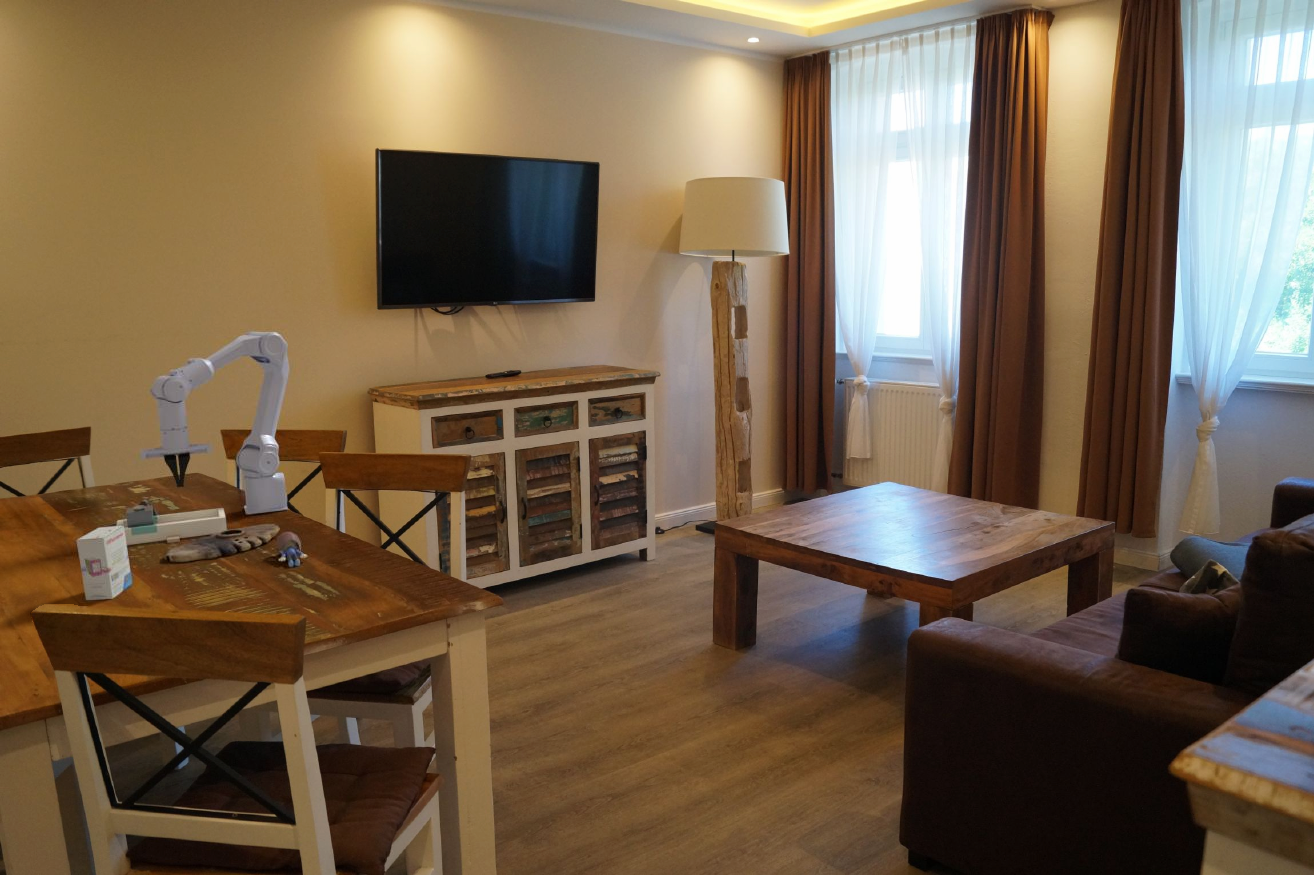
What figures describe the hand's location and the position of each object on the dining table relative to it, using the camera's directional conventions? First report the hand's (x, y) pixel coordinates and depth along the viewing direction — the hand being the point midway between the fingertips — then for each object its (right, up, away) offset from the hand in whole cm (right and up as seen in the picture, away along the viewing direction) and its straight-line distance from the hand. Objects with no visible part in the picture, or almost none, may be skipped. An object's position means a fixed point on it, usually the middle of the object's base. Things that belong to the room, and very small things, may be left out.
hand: (180, 486), depth 223 cm
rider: (-6, -9, -6) cm, 13 cm away
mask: (+17, -13, -14) cm, 25 cm away
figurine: (+35, -14, -24) cm, 44 cm away
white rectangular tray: (+1, -11, -5) cm, 12 cm away
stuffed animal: (-11, -10, +6) cm, 16 cm away
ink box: (+8, -18, -42) cm, 47 cm away
